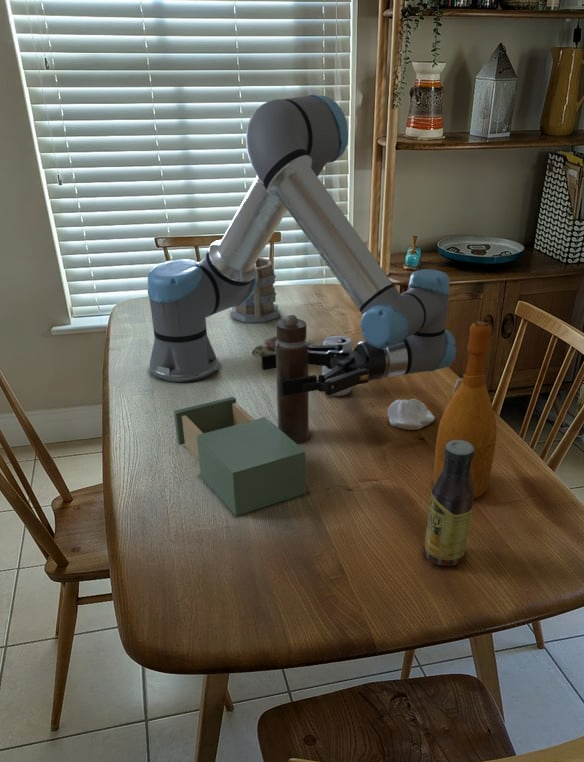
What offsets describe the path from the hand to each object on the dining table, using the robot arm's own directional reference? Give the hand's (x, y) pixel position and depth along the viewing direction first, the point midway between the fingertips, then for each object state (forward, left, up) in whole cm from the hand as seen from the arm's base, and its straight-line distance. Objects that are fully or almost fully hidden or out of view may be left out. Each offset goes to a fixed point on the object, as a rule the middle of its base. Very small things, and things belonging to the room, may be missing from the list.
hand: (271, 375), depth 134 cm
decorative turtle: (-35, +22, -14) cm, 43 cm away
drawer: (-1, -11, -13) cm, 17 cm away
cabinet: (+13, -11, -13) cm, 22 cm away
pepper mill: (+1, +4, -13) cm, 14 cm away
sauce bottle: (+46, +5, -14) cm, 48 cm away
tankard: (-61, +27, -14) cm, 68 cm away
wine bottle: (+32, +20, -14) cm, 40 cm away
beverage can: (-12, +22, -14) cm, 28 cm away
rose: (+7, +28, -14) cm, 32 cm away
